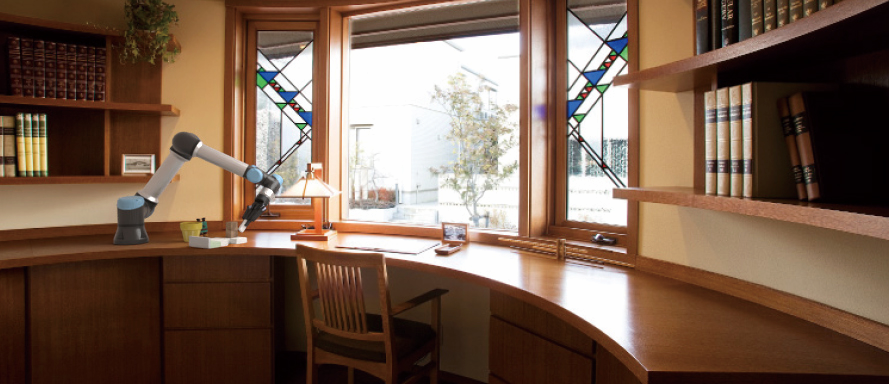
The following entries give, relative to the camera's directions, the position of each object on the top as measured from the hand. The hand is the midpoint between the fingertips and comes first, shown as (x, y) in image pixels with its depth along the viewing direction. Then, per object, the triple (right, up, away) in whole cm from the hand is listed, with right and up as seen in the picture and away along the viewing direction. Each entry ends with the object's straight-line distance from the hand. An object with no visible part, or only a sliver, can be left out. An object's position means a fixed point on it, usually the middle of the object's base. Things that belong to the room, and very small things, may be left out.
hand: (240, 230), depth 264 cm
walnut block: (-3, -3, -4) cm, 6 cm away
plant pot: (-25, -6, -2) cm, 25 cm away
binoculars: (-30, -5, +16) cm, 34 cm away
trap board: (-6, -6, -11) cm, 14 cm away
